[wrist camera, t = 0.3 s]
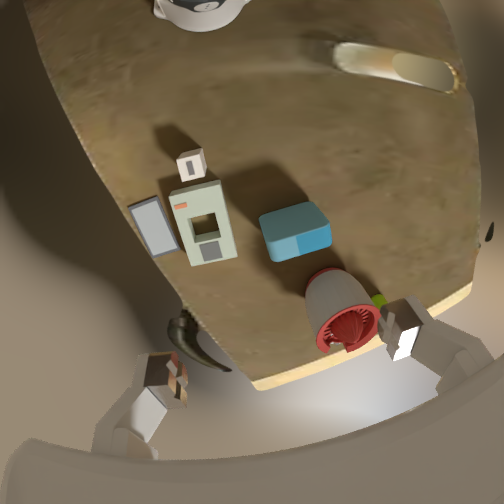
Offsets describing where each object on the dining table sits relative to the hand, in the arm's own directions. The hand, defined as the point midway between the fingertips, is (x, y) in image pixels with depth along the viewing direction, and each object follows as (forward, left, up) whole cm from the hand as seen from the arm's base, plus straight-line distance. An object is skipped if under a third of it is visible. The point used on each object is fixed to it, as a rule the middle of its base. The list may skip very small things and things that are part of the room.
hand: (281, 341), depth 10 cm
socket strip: (+14, -9, -46) cm, 49 cm away
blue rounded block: (+17, +8, -46) cm, 50 cm away
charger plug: (+1, -8, -46) cm, 47 cm away
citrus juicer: (+39, +16, -46) cm, 63 cm away
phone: (+13, -20, -46) cm, 52 cm away
